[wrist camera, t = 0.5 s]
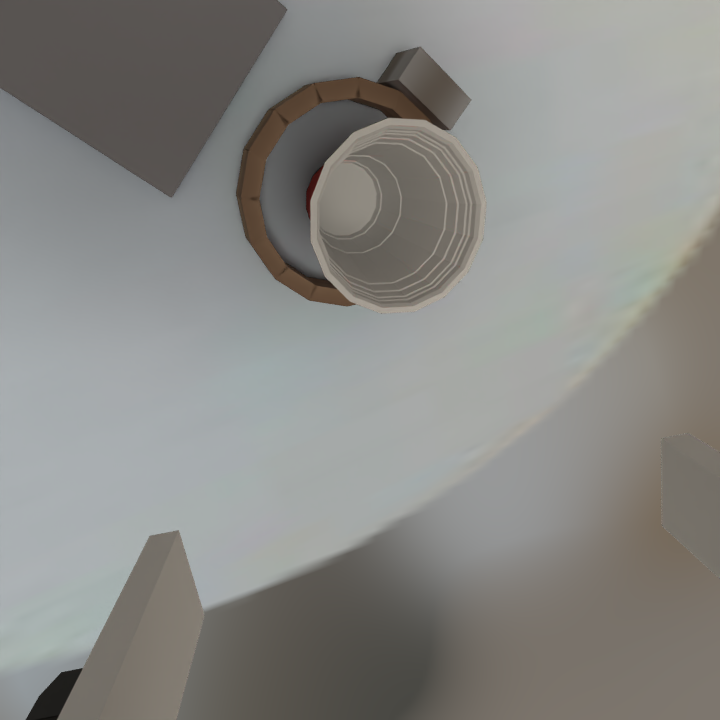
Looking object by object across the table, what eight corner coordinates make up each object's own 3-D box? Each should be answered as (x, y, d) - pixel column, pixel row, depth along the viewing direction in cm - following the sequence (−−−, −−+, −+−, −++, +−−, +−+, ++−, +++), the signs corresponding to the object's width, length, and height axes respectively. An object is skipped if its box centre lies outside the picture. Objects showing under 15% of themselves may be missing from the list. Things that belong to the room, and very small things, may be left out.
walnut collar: (196, 224, 38) (199, 234, 34) (339, -4, 35) (359, -18, 32) (360, 328, 45) (377, 345, 42) (488, 146, 43) (517, 148, 39)
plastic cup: (400, 106, 39) (487, 101, 29) (414, 251, 44) (492, 290, 34) (255, 131, 37) (293, 134, 26) (286, 281, 42) (328, 334, 31)
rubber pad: (-61, 46, 30) (-66, 45, 29) (63, -193, 28) (61, -201, 27) (171, 196, 37) (171, 197, 36) (284, 11, 35) (287, 9, 34)
